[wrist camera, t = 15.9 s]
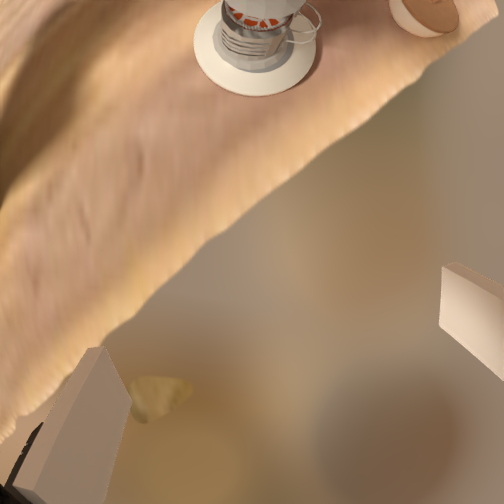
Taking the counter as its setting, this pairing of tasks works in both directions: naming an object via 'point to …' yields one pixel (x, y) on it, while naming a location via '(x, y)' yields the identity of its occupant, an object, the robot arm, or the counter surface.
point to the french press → (257, 31)
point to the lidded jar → (425, 16)
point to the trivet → (257, 80)
